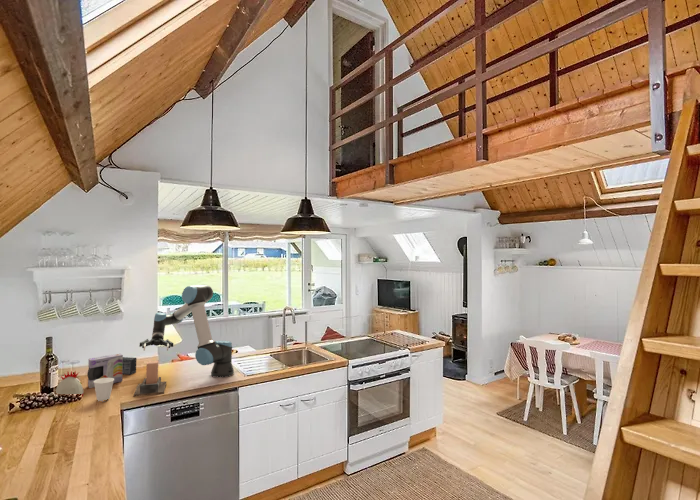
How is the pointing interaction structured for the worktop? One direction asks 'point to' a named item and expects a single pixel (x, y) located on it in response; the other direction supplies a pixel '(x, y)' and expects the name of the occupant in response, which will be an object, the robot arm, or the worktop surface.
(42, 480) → the worktop surface
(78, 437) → the worktop surface
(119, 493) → the worktop surface
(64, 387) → the red-crested grey dome
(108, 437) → the worktop surface
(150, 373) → the block
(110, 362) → the cake pan box
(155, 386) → the grey socket base
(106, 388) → the cup
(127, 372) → the small box
